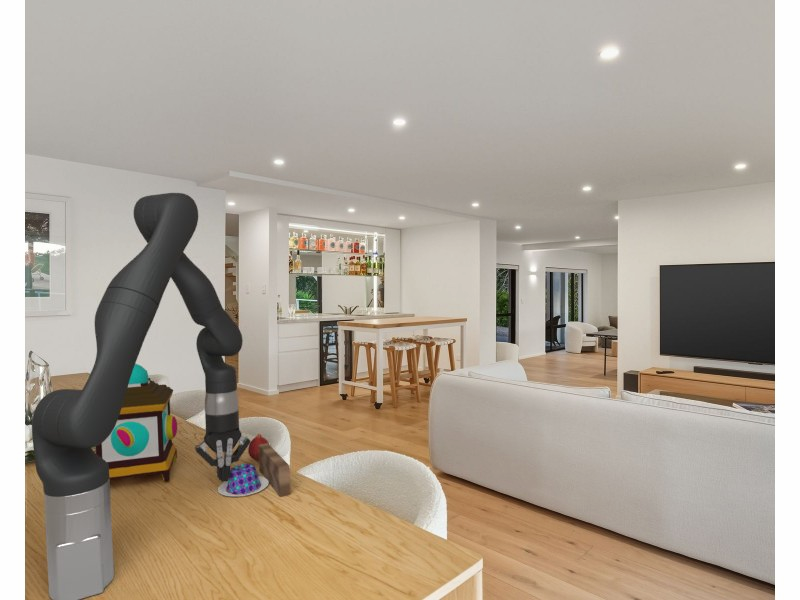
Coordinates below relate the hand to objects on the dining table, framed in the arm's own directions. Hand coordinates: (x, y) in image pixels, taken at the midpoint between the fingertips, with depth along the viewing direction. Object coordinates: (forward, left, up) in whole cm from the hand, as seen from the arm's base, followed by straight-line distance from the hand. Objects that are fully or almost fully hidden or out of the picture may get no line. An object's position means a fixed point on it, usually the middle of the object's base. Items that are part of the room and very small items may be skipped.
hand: (224, 480), depth 117 cm
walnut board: (0, -12, -3) cm, 12 cm away
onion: (+16, -12, -3) cm, 20 cm away
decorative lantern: (+24, +18, -3) cm, 30 cm away
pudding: (+1, -5, -4) cm, 6 cm away
